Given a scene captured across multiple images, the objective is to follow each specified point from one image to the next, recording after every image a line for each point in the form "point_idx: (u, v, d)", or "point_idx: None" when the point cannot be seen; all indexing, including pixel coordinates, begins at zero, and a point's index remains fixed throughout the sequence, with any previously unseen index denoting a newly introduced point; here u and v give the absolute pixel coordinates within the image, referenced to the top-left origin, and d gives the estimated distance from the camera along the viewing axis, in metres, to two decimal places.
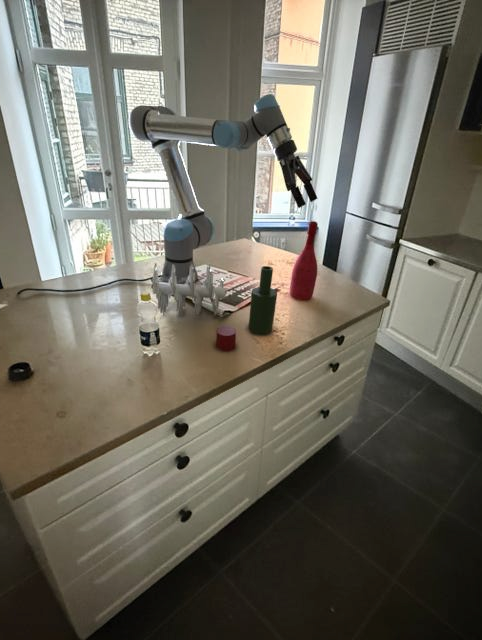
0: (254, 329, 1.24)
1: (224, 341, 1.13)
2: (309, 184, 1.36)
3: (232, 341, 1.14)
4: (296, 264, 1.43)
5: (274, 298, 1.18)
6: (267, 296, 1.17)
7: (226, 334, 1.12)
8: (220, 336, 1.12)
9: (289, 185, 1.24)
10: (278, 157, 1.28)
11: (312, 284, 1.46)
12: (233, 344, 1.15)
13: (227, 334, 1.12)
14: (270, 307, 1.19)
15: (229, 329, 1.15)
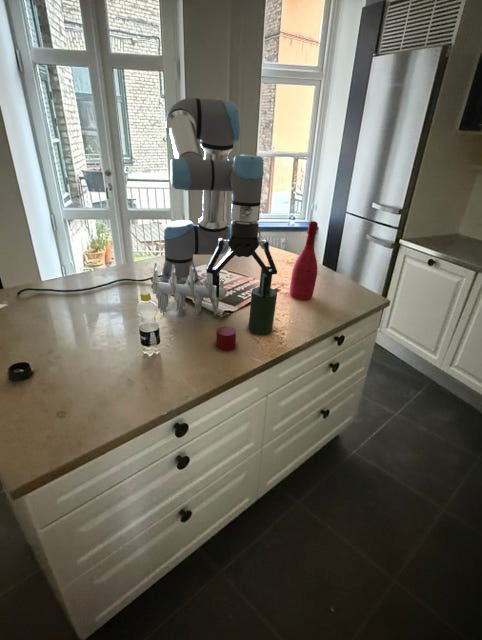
0: (254, 329, 1.24)
1: (224, 341, 1.13)
2: (263, 278, 1.07)
3: (232, 341, 1.14)
4: (296, 264, 1.43)
5: (274, 298, 1.18)
6: (267, 296, 1.17)
7: (226, 334, 1.12)
8: (220, 336, 1.12)
9: None
10: None
11: (312, 284, 1.46)
12: (233, 344, 1.15)
13: (227, 334, 1.12)
14: (270, 307, 1.19)
15: (229, 329, 1.15)
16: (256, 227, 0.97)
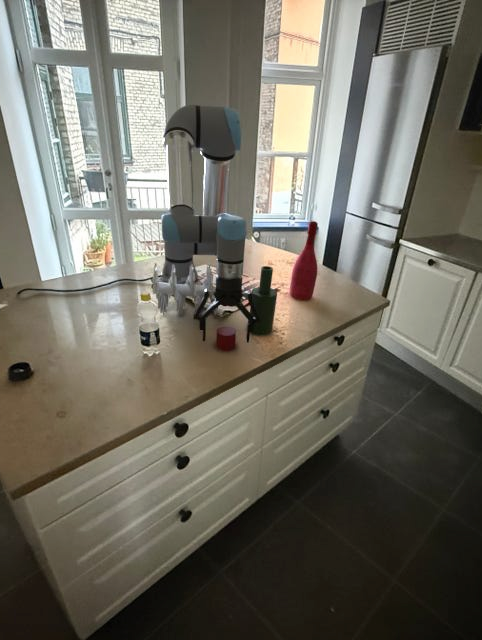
0: (254, 329, 1.24)
1: (224, 341, 1.13)
2: (247, 325, 1.12)
3: (232, 341, 1.14)
4: (296, 264, 1.43)
5: (274, 298, 1.18)
6: (267, 296, 1.17)
7: (226, 334, 1.12)
8: (220, 336, 1.12)
9: (193, 316, 1.11)
10: None
11: (312, 284, 1.46)
12: (233, 344, 1.15)
13: (227, 334, 1.12)
14: (270, 307, 1.19)
15: (229, 329, 1.15)
16: (239, 282, 1.03)
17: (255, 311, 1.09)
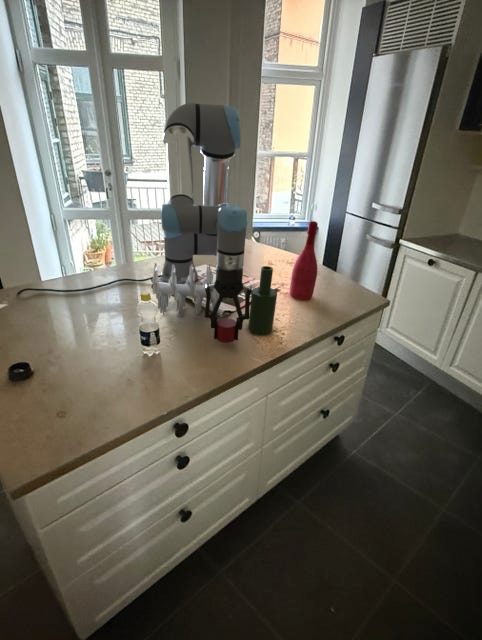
0: (254, 329, 1.24)
1: (224, 332, 1.11)
2: (236, 323, 1.12)
3: (232, 333, 1.12)
4: (296, 264, 1.43)
5: (274, 298, 1.18)
6: (267, 296, 1.17)
7: (226, 326, 1.11)
8: (220, 328, 1.11)
9: (205, 314, 1.11)
10: None
11: (312, 284, 1.46)
12: (233, 336, 1.14)
13: (228, 326, 1.11)
14: (270, 307, 1.19)
15: (229, 321, 1.14)
16: (240, 273, 1.01)
17: (248, 308, 1.09)
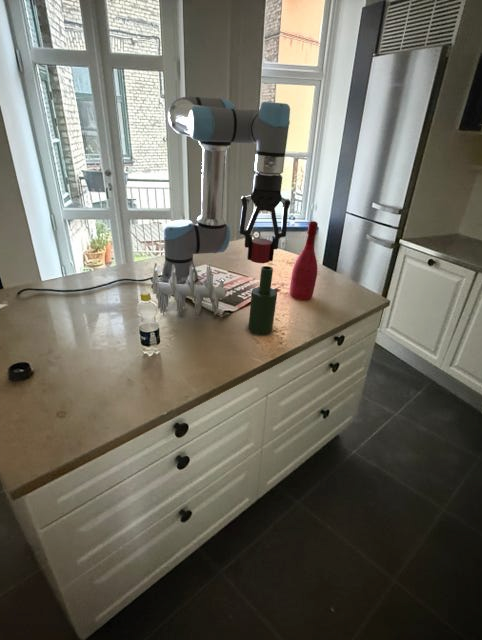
0: (254, 329, 1.24)
1: (259, 251, 1.06)
2: (272, 241, 1.07)
3: (268, 252, 1.07)
4: (296, 264, 1.43)
5: (274, 298, 1.18)
6: (267, 296, 1.17)
7: (262, 243, 1.06)
8: (255, 245, 1.06)
9: (239, 230, 1.06)
10: None
11: (312, 284, 1.46)
12: (268, 256, 1.08)
13: (263, 243, 1.06)
14: (270, 307, 1.19)
15: (264, 240, 1.08)
16: (279, 179, 0.96)
17: (285, 223, 1.04)
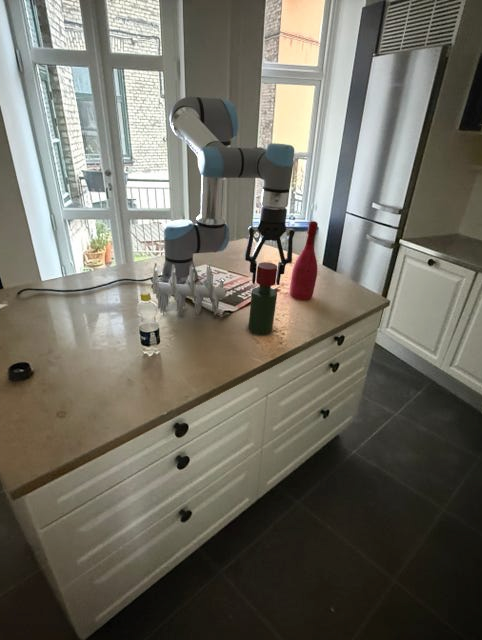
0: (254, 329, 1.24)
1: (266, 275, 1.13)
2: (279, 267, 1.14)
3: (273, 276, 1.14)
4: (296, 264, 1.43)
5: (274, 298, 1.18)
6: (267, 296, 1.17)
7: (268, 268, 1.13)
8: (262, 270, 1.13)
9: (245, 257, 1.13)
10: None
11: (312, 284, 1.46)
12: (274, 279, 1.15)
13: (269, 268, 1.13)
14: (270, 307, 1.19)
15: (270, 264, 1.15)
16: (284, 213, 1.04)
17: (290, 250, 1.11)
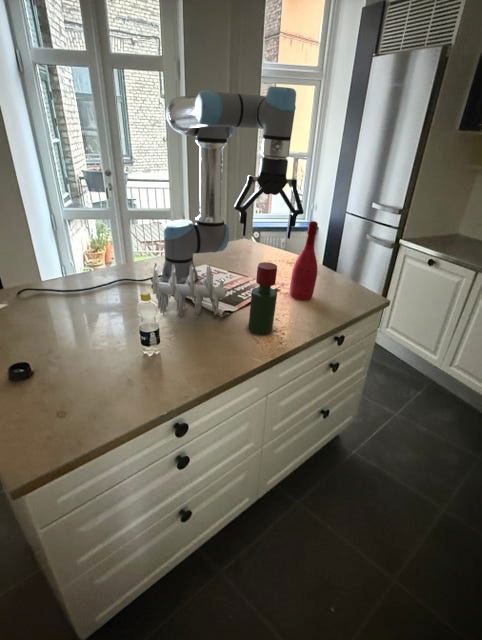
0: (254, 329, 1.24)
1: (266, 275, 1.13)
2: (289, 218, 1.09)
3: (273, 276, 1.14)
4: (296, 264, 1.43)
5: (274, 298, 1.18)
6: (267, 296, 1.17)
7: (268, 268, 1.13)
8: (262, 270, 1.13)
9: (234, 206, 1.07)
10: None
11: (312, 284, 1.46)
12: (274, 279, 1.15)
13: (269, 268, 1.13)
14: (270, 307, 1.19)
15: (270, 264, 1.15)
16: (285, 163, 0.99)
17: (299, 200, 1.06)
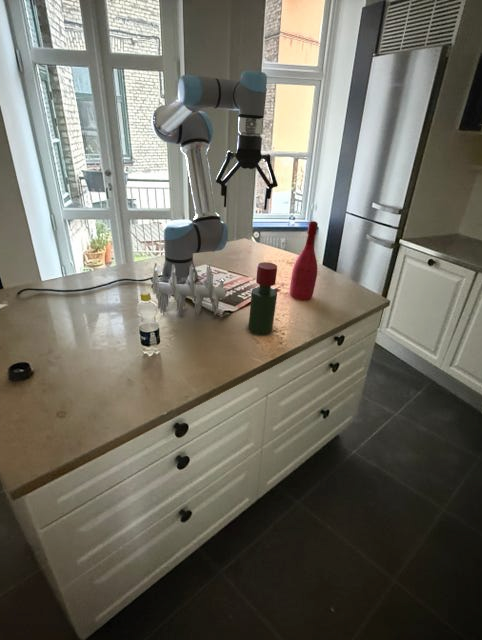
0: (254, 329, 1.24)
1: (266, 275, 1.13)
2: (265, 191, 1.22)
3: (273, 276, 1.14)
4: (296, 264, 1.43)
5: (274, 298, 1.18)
6: (267, 296, 1.17)
7: (268, 268, 1.13)
8: (262, 270, 1.13)
9: (216, 180, 1.20)
10: None
11: (312, 284, 1.46)
12: (274, 279, 1.15)
13: (269, 268, 1.13)
14: (270, 307, 1.19)
15: (270, 264, 1.15)
16: (259, 139, 1.12)
17: (273, 174, 1.19)
